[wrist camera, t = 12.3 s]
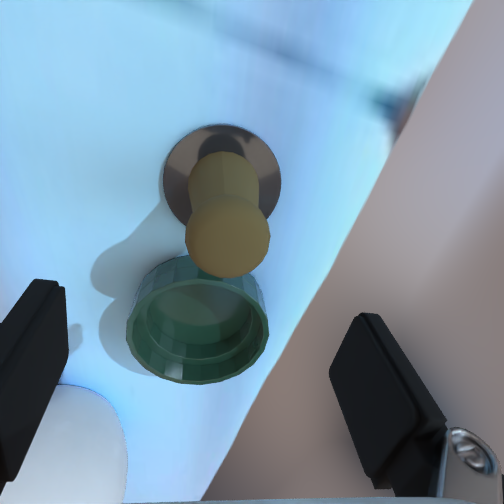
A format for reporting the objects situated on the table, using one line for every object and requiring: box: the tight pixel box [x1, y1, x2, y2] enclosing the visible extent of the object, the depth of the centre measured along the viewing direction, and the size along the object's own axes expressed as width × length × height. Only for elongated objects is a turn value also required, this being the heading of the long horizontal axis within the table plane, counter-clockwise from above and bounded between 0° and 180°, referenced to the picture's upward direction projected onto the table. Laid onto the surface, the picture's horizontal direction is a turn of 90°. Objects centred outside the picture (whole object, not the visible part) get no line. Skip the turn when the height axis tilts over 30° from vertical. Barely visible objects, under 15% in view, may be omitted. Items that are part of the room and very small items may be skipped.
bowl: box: [126, 255, 269, 385], centre depth 34 cm, size 13×13×4 cm
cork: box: [185, 151, 270, 278], centre depth 24 cm, size 6×6×11 cm
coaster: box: [163, 124, 281, 226], centre depth 29 cm, size 10×10×1 cm
